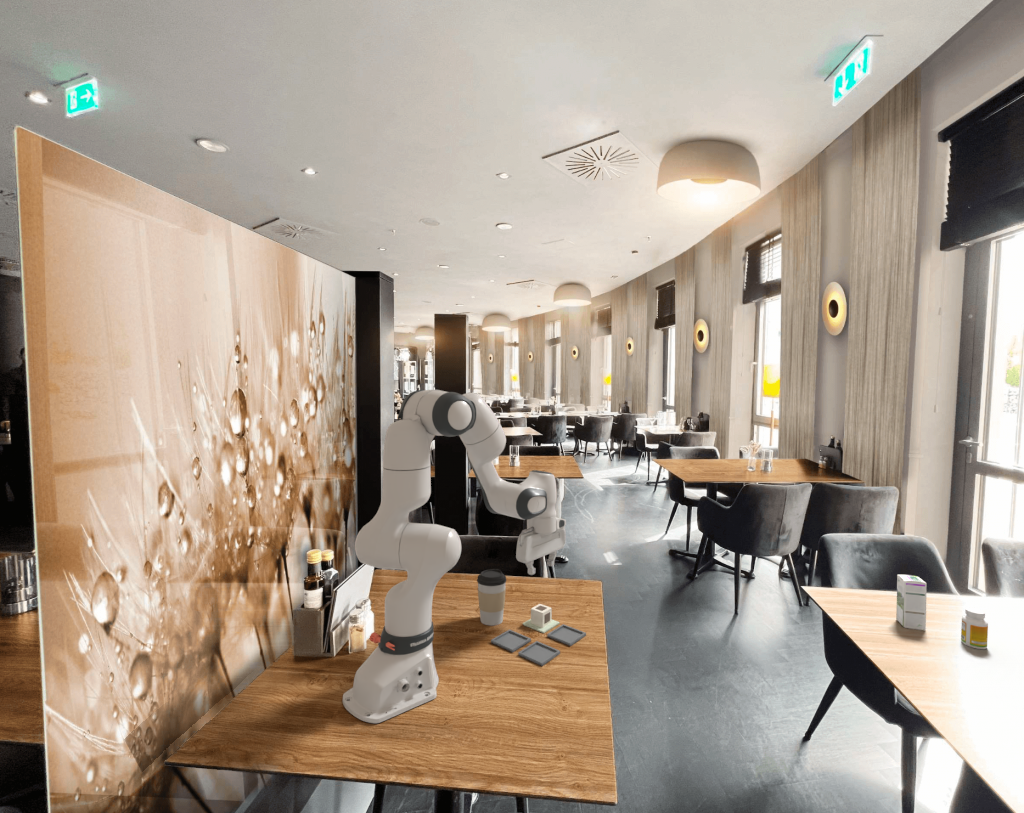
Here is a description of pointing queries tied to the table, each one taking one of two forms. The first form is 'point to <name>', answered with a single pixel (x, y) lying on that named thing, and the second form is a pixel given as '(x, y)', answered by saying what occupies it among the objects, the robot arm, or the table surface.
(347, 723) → the table surface
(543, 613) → the letter cube
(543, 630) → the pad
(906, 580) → the syrup box
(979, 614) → the supplement bottle
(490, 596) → the coffee cup
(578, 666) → the table surface
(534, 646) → the tray
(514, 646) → the tray
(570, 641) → the tray
